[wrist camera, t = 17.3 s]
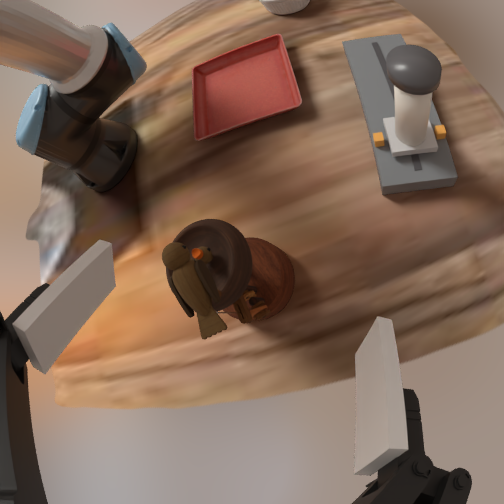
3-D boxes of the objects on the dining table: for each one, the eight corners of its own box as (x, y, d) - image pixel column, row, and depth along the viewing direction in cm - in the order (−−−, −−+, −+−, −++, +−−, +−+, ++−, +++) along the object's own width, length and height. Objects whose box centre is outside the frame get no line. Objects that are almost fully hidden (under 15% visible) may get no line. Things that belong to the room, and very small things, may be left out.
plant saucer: (308, 115, 44) (303, 103, 41) (203, 150, 50) (193, 141, 47) (286, 44, 48) (280, 32, 45) (200, 76, 54) (191, 67, 51)
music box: (323, 285, 39) (251, 284, 21) (266, 343, 41) (165, 378, 23) (246, 209, 45) (145, 163, 27) (199, 266, 47) (89, 252, 29)
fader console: (453, 186, 34) (460, 172, 30) (382, 195, 37) (382, 181, 33) (401, 46, 39) (400, 27, 35) (345, 53, 43) (340, 35, 38)
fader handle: (437, 152, 32) (453, 82, 19) (392, 157, 34) (391, 87, 22) (425, 117, 33) (432, 42, 20) (383, 122, 35) (375, 48, 23)
